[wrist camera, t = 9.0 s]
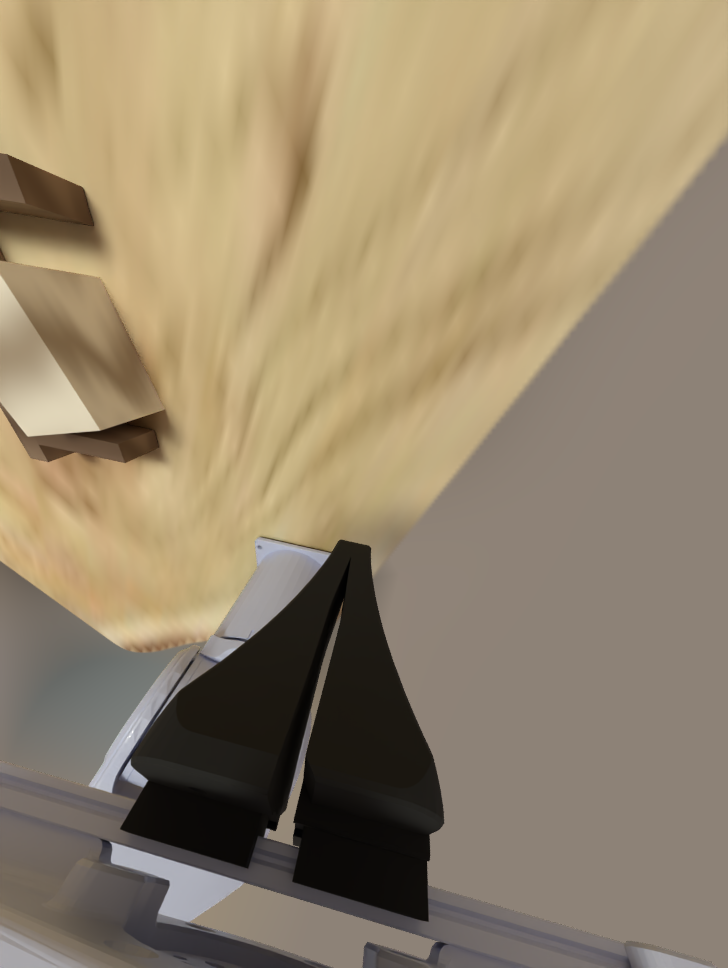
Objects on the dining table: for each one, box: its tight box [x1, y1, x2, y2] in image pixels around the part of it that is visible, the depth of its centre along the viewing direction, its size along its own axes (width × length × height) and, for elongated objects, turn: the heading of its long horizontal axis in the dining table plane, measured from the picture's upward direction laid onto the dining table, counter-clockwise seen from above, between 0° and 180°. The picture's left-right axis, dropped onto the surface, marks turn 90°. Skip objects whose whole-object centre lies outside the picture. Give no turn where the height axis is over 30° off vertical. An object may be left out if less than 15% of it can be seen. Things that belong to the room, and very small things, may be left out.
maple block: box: [0, 261, 165, 437], centre depth 16 cm, size 8×6×5 cm
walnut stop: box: [0, 153, 159, 463], centre depth 17 cm, size 18×8×3 cm, turn 172°
